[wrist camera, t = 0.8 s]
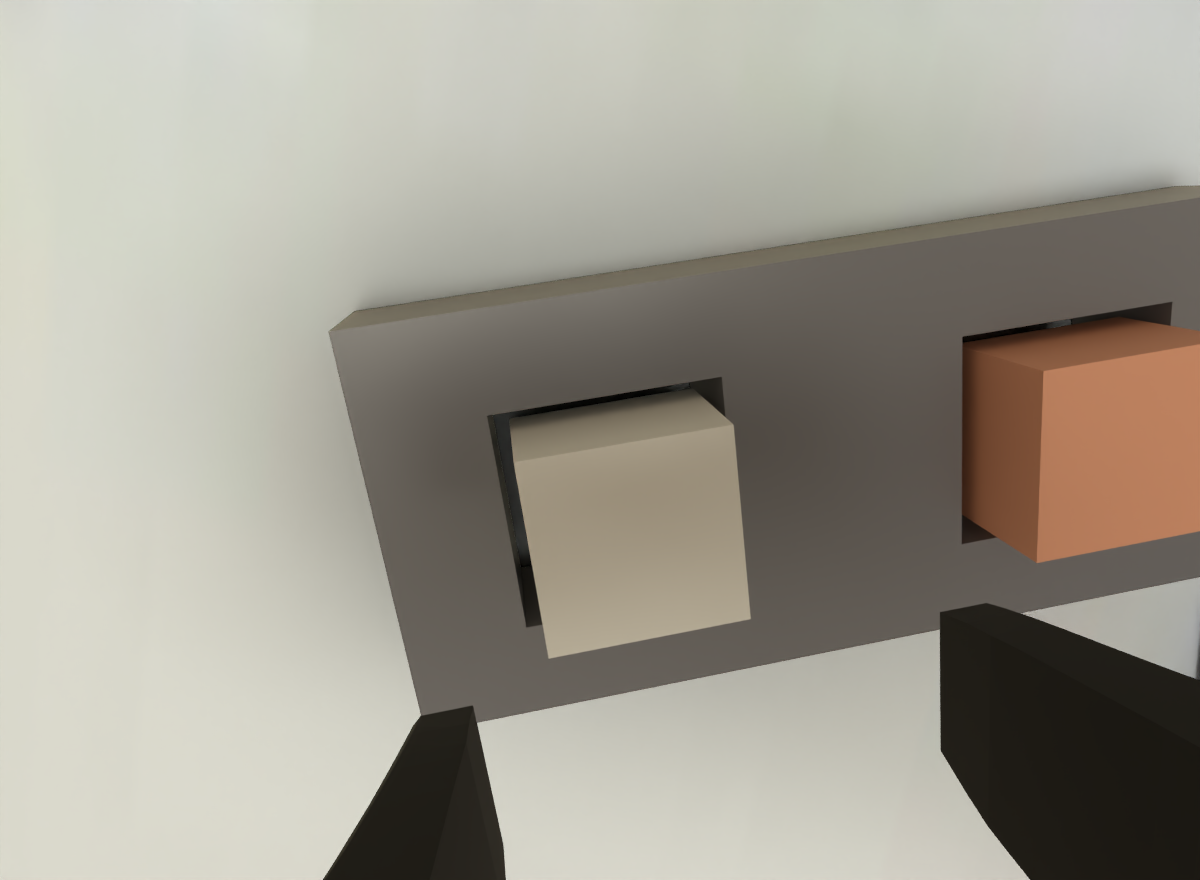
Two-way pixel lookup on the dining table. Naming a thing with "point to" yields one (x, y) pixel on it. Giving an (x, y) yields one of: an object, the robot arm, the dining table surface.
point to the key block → (749, 435)
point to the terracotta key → (1082, 436)
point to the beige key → (631, 519)
